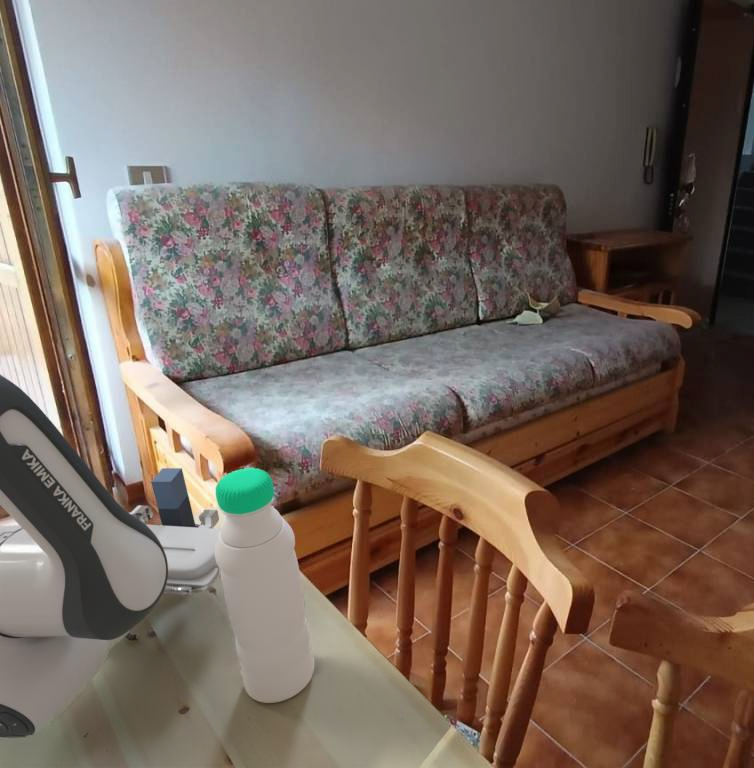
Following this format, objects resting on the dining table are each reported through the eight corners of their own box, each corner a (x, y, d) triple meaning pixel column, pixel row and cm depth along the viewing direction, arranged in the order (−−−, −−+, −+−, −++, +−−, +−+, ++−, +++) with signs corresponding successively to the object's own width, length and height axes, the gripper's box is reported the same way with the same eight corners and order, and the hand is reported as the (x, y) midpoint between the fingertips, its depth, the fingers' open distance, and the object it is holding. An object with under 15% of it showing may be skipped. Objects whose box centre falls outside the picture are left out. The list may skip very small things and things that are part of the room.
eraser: (173, 566, 81) (150, 481, 75) (183, 551, 83) (162, 468, 78) (192, 566, 81) (170, 481, 75) (201, 551, 83) (182, 467, 78)
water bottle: (275, 719, 62) (233, 512, 52) (230, 685, 65) (182, 484, 55) (329, 669, 68) (301, 472, 57) (284, 640, 71) (250, 450, 60)
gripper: (197, 573, 66) (255, 496, 78) (10, 560, 67) (97, 486, 79) (208, 618, 68) (262, 536, 81) (28, 605, 69) (109, 527, 82)
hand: (179, 511), depth 80 cm, fingers open, 7 cm apart
